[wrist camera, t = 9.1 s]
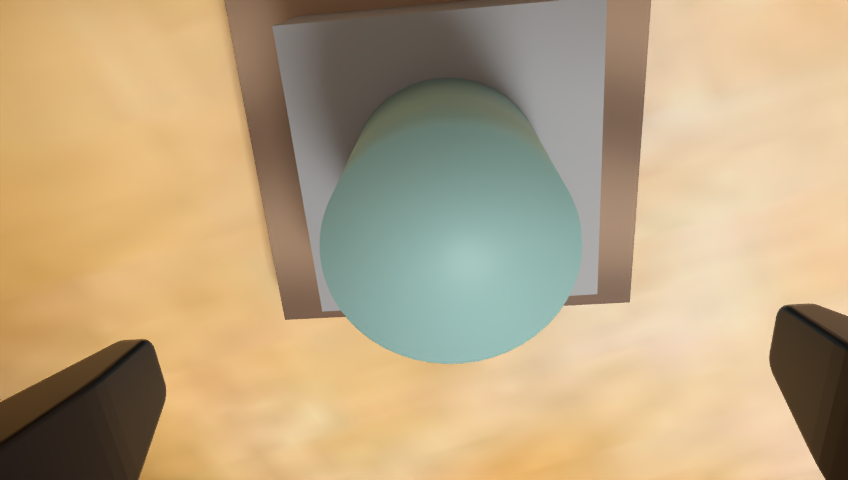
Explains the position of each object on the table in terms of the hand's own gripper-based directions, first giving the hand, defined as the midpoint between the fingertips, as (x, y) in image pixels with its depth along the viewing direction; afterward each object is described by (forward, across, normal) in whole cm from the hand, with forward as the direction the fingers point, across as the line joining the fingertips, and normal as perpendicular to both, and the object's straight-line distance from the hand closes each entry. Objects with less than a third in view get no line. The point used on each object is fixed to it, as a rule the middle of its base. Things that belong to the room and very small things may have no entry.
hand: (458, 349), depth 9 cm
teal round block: (+8, 0, 0) cm, 8 cm away
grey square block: (+11, 0, 0) cm, 11 cm away
